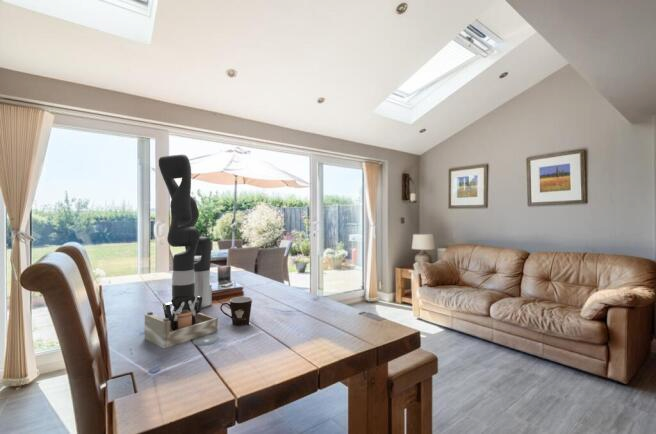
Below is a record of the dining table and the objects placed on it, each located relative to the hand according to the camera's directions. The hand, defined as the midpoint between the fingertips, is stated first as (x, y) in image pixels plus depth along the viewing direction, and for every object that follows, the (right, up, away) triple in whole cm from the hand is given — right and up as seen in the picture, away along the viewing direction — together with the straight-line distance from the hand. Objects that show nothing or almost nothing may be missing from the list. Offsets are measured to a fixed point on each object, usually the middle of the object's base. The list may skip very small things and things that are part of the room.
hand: (183, 328), depth 113 cm
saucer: (+10, -3, -6) cm, 12 cm away
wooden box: (0, -3, 0) cm, 3 cm away
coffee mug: (+16, -3, +12) cm, 20 cm away
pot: (0, -2, 0) cm, 2 cm away
